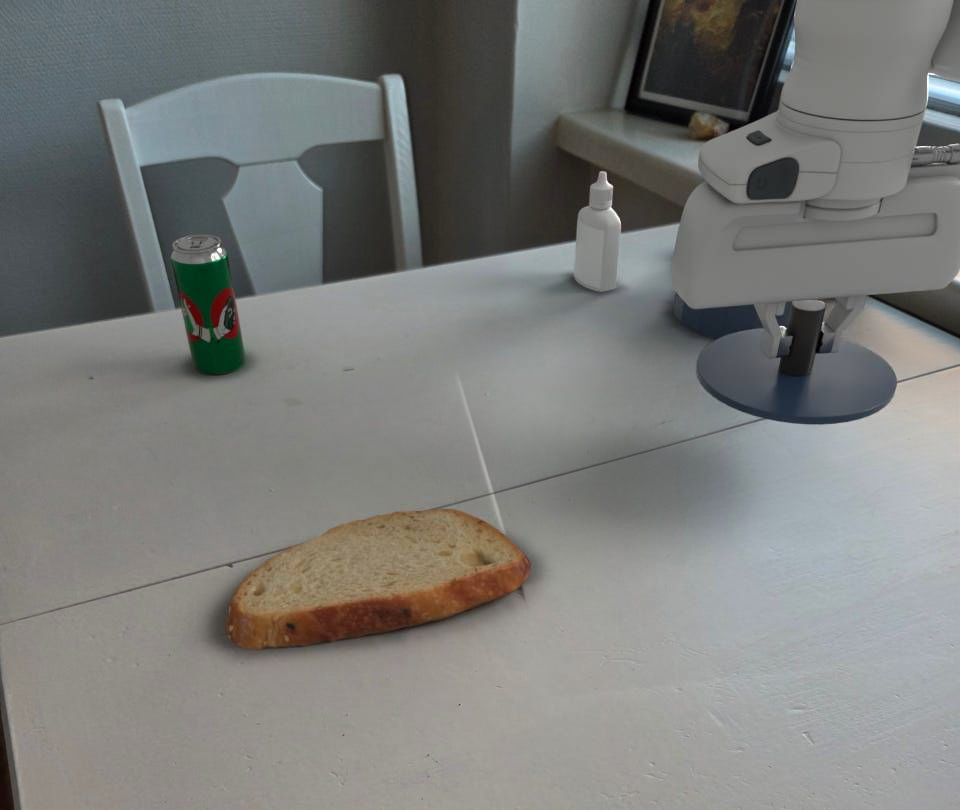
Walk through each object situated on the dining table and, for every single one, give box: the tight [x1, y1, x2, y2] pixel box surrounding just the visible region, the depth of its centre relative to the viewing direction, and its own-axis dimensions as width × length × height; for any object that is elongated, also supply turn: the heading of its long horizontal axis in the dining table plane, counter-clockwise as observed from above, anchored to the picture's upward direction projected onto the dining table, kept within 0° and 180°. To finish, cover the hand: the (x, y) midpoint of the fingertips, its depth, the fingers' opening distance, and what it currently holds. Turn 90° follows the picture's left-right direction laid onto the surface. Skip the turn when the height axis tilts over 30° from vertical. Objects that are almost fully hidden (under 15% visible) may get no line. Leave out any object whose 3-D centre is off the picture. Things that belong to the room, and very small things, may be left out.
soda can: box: [170, 234, 247, 376], centre depth 92 cm, size 5×5×12 cm
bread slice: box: [225, 508, 532, 651], centre depth 68 cm, size 18×18×4 cm
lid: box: [695, 299, 898, 426], centre depth 72 cm, size 15×15×6 cm
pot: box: [672, 291, 793, 340], centre depth 101 cm, size 14×19×10 cm
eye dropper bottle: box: [573, 170, 622, 293], centre depth 107 cm, size 4×6×12 cm
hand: (798, 352), depth 73 cm, fingers closed on lid, 2 cm apart
